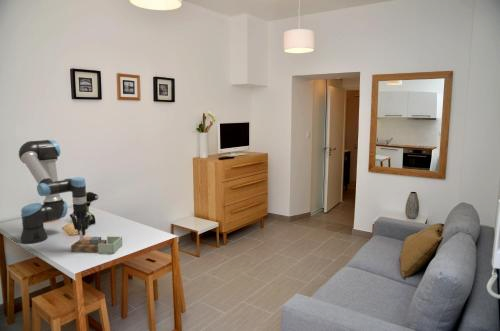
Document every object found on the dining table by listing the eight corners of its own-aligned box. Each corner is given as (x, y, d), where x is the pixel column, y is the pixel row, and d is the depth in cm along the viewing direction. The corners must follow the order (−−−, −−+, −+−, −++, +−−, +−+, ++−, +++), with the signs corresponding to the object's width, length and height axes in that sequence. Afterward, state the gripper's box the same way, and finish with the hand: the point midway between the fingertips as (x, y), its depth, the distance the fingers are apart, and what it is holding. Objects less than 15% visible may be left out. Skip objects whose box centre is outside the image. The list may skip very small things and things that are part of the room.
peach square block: (81, 244, 218) (81, 239, 217) (85, 241, 223) (85, 236, 222) (89, 244, 218) (89, 239, 217) (93, 241, 223) (93, 236, 222)
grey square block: (89, 244, 218) (89, 239, 217) (93, 241, 223) (93, 236, 222) (97, 244, 217) (97, 239, 217) (101, 241, 222) (101, 236, 222)
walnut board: (71, 252, 216) (71, 245, 215) (80, 245, 227) (80, 239, 226) (98, 252, 215) (98, 246, 214) (107, 245, 226) (106, 239, 225)
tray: (98, 253, 214) (97, 244, 213) (108, 245, 227) (107, 236, 226) (113, 253, 214) (113, 244, 213) (122, 245, 227) (121, 236, 226)
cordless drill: (104, 226, 262) (102, 193, 258) (95, 228, 257) (93, 195, 253) (85, 220, 275) (83, 188, 271) (77, 223, 269) (74, 190, 265)
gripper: (65, 204, 213) (68, 242, 217) (87, 205, 212) (89, 242, 216) (72, 201, 220) (75, 237, 224) (93, 201, 220) (95, 238, 223)
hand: (82, 240), depth 220 cm, fingers closed
